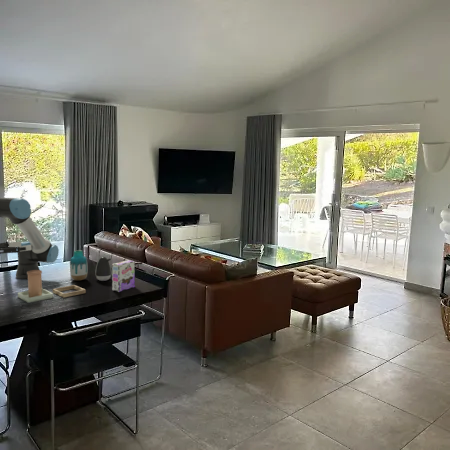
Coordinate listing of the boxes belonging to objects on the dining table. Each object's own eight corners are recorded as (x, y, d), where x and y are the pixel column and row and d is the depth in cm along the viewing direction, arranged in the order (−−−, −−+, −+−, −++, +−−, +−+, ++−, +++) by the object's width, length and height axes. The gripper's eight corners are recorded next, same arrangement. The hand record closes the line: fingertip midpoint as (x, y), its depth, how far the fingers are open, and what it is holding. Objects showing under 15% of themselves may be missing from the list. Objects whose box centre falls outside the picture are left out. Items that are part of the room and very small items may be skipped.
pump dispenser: (107, 282, 287) (107, 259, 284) (92, 281, 289) (92, 258, 287) (114, 278, 297) (114, 255, 294) (100, 277, 299) (99, 254, 296)
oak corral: (52, 292, 263) (52, 289, 262) (74, 288, 272) (74, 284, 272) (63, 297, 253) (63, 294, 253) (85, 292, 263) (85, 289, 263)
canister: (25, 295, 253) (24, 271, 251) (39, 293, 258) (38, 269, 256) (31, 298, 247) (30, 274, 245) (45, 296, 253) (44, 271, 251)
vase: (78, 283, 283) (77, 253, 280) (67, 280, 289) (65, 251, 286) (91, 279, 292) (90, 250, 289) (80, 276, 298) (79, 248, 295)
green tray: (17, 297, 253) (17, 292, 252) (42, 292, 263) (42, 288, 262) (28, 302, 243) (28, 298, 243) (53, 297, 253) (53, 293, 253)
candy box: (118, 292, 266) (118, 265, 264) (111, 290, 269) (111, 263, 267) (135, 287, 278) (135, 260, 275) (128, 285, 281) (128, 259, 278)
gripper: (-24, 254, 243) (17, 248, 258) (-7, 261, 226) (36, 255, 241) (-24, 240, 242) (16, 235, 257) (-7, 247, 224) (35, 242, 240)
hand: (26, 245), depth 249 cm, fingers open, 13 cm apart
